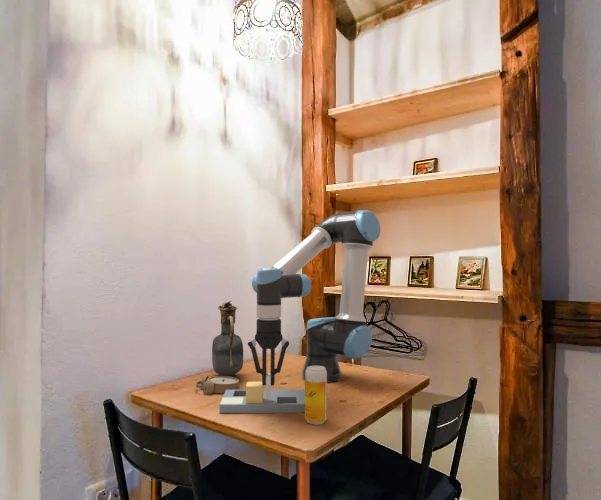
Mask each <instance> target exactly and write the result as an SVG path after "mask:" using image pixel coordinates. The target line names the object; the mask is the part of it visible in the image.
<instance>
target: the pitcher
mask: <svg viewBox="0 0 601 500" xmlns="http://www.w3.org/2000/svg"><path fill="white" fill-rule="evenodd" d="M232 301H233V300H230V301H227V302H223V303H222V304H221V305H219V306H218V308H217V309H218V310H219V311H220V324H221V325H220V326H221V330H220V331H221V333H220V334H219V335H216V336H215V337H214V338H213V340H212V346H211V356H212V357H211V362H212V369H213V371H214V373H215V374H217V376H229V377H234V378H237V377H238V376H237V373H239V372H241V370H242V369H243V366H244V365H243V364H244V345H243V340H242V338H241V336H240V335H238V334H235V324H236V311H237V310H238V307H237V306H234V305H233V304H232V303H231V302H232ZM237 379H238V378H237Z"/></svg>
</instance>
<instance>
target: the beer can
mask: <svg viewBox="0 0 601 500" xmlns="http://www.w3.org/2000/svg"><path fill="white" fill-rule="evenodd" d="M327 384H328V382H327V371H326V369H325V367H323V366H308V367H307V369H306V371H305V379H304V385H305V386H304V390H305V412H304V419H305V421H306V423H308V424H310V425H317V426H318V425H323V424H325V422H326V420H327V407H328V405H327V403H328V402H327V400H328V399H327V397H328V392H327V391H328V388H327V387H328V386H327Z"/></svg>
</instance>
